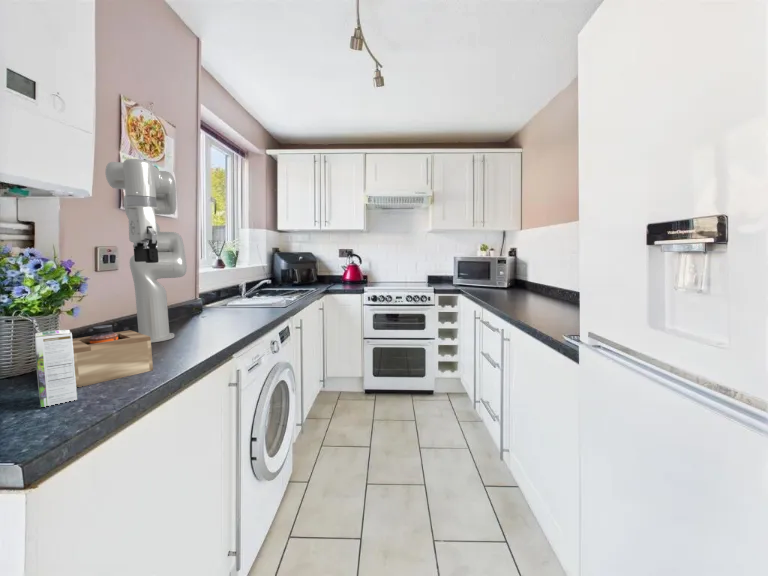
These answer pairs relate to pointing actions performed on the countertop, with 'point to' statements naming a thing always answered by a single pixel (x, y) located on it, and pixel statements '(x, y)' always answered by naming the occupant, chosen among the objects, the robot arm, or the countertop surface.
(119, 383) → the countertop surface
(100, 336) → the supplement bottle
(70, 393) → the syrup box
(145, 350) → the drop box
